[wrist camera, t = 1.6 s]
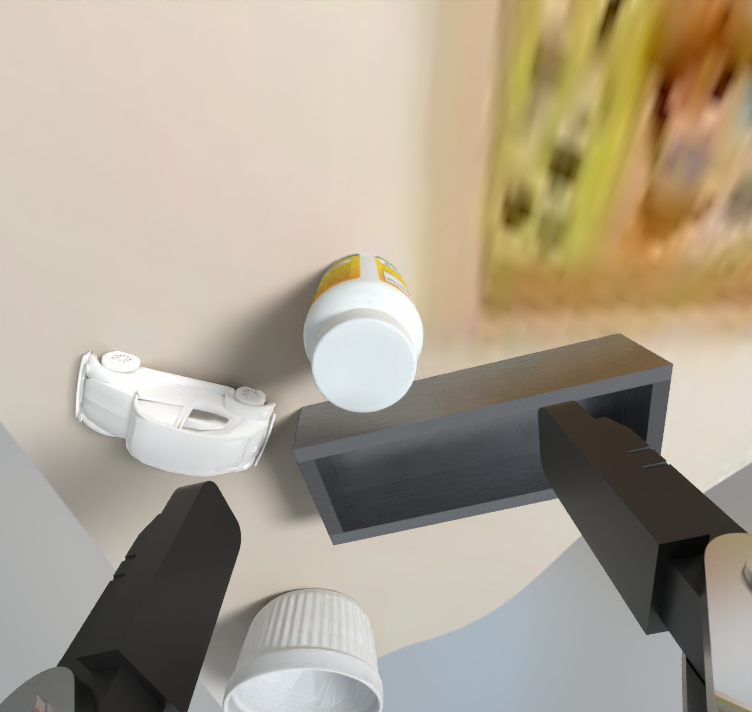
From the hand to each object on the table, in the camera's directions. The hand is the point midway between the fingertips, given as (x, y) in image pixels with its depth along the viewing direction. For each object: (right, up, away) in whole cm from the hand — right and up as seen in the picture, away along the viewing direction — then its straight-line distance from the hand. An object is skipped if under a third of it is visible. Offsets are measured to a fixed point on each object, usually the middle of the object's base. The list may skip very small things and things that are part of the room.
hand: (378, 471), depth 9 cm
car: (-13, 0, +16) cm, 21 cm away
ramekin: (-6, -23, +28) cm, 37 cm away
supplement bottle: (-1, +7, +14) cm, 15 cm away
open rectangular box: (+6, -2, +18) cm, 19 cm away
